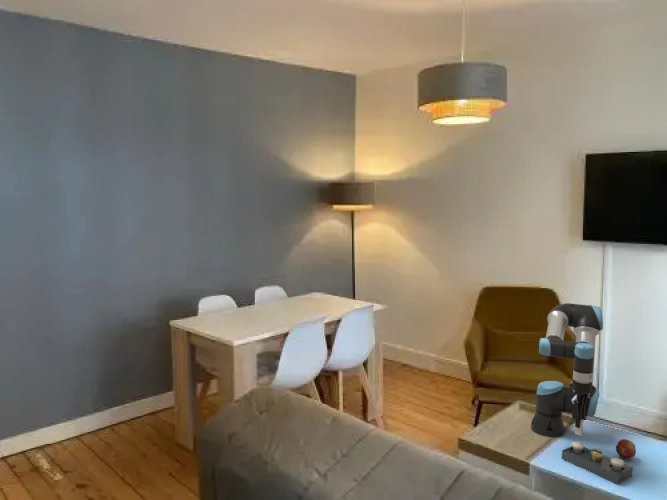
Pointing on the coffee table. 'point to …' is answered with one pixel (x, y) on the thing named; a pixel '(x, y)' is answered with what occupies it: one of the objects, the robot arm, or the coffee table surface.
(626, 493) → the coffee table surface
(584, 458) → the panel
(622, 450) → the fruit
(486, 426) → the coffee table surface
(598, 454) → the brass dial
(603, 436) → the coffee table surface
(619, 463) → the knob
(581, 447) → the knob
